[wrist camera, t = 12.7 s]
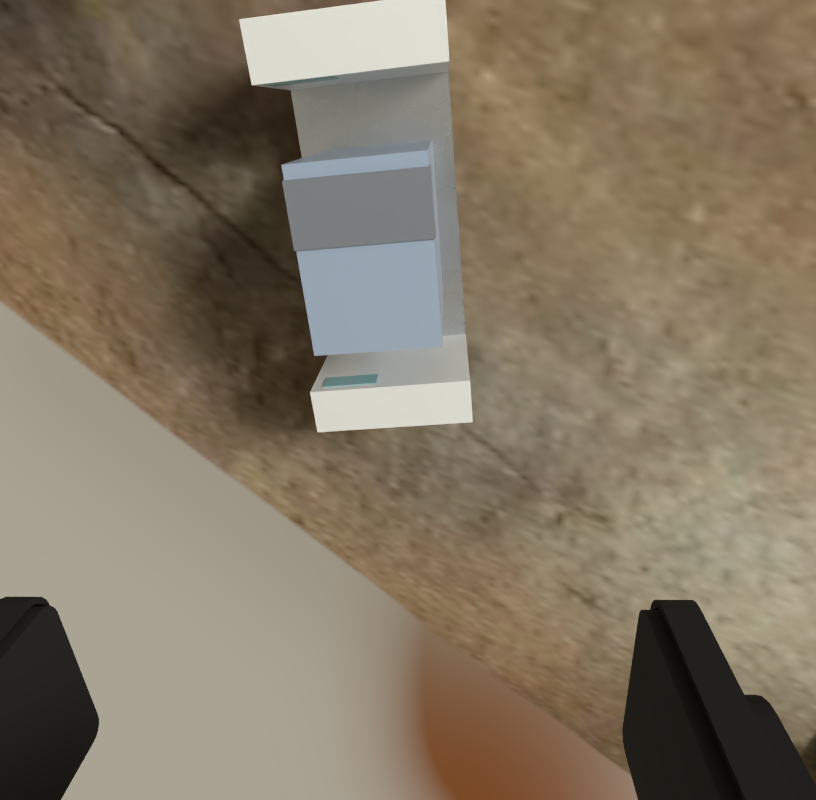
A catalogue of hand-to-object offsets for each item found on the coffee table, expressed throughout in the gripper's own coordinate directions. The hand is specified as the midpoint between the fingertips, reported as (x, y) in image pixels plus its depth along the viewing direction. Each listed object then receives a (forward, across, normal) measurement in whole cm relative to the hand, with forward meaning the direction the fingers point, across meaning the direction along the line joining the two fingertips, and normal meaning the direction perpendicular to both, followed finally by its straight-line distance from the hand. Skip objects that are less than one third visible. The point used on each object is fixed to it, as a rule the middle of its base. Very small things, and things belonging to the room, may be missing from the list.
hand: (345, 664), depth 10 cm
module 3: (+23, +1, +4) cm, 23 cm away
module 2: (+23, +1, -3) cm, 23 cm away
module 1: (+23, +2, -10) cm, 25 cm away
